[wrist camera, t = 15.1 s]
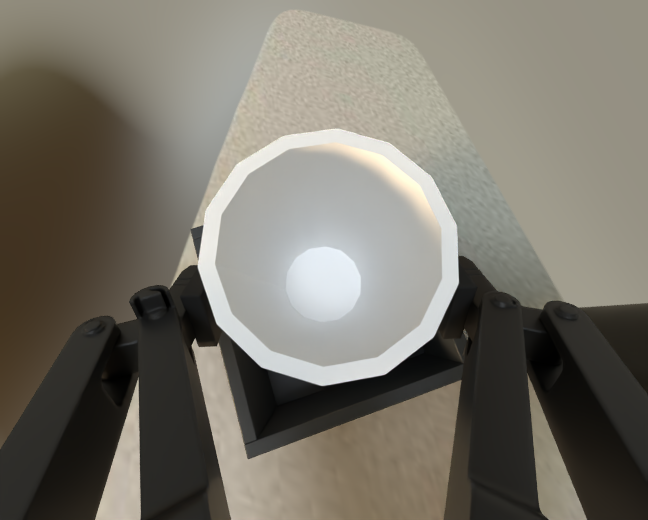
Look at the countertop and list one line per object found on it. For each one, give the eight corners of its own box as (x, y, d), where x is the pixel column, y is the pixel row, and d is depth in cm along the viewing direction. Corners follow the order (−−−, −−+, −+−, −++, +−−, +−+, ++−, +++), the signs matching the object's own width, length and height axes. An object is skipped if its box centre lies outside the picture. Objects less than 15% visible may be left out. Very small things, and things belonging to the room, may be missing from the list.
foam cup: (400, 317, 23) (505, 320, 10) (290, 364, 22) (253, 433, 9) (352, 211, 24) (391, 97, 12) (248, 251, 24) (167, 176, 11)
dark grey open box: (432, 357, 25) (481, 372, 17) (272, 416, 24) (247, 459, 16) (373, 209, 28) (391, 165, 20) (228, 256, 27) (189, 229, 19)
